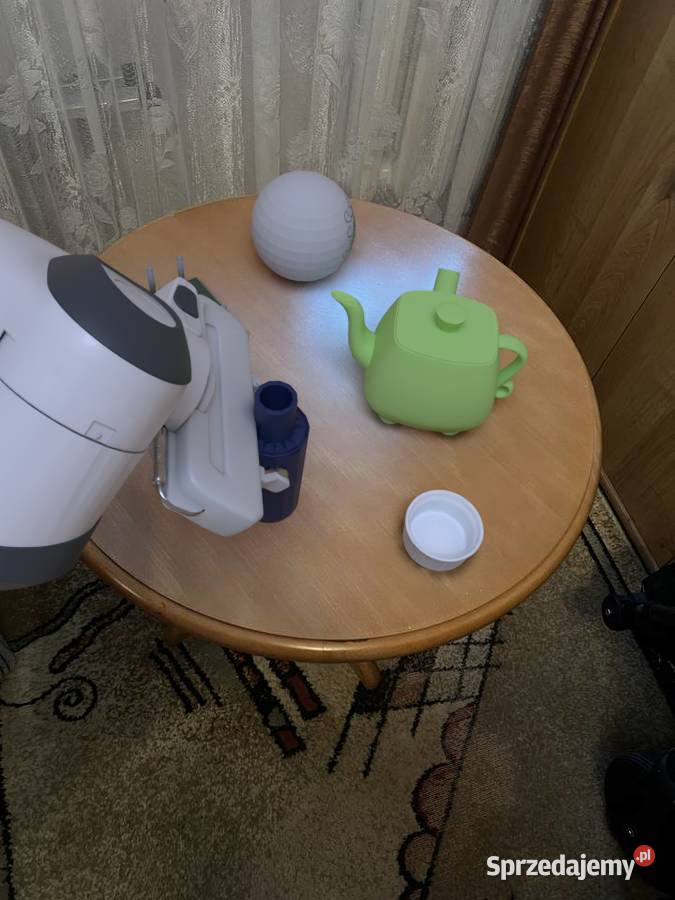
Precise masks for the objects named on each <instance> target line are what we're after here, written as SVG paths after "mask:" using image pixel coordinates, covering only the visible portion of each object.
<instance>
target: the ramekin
mask: <svg viewBox="0 0 675 900" xmlns="http://www.w3.org/2000/svg"><path fill="white" fill-rule="evenodd" d="M404 517H405V518H404V524H403V528H402V542H403V546H404V548H405V550H406V552H407V554H408V556H409V557H410V558H411V560H413V561H414V562H415V563H416V564H418V565H419V566H421V567H423V568H425V569H427V570H430V571H434V572H446V571H447V572H449V571H452V570H453V569H456V568H458V567H460V566H461V565H462V564H463V563H465V561H466V560H467V559H468V558H470V557H472V556H473V555H474V554H475V553H476V552H478V550H479V549H480V547H481V545H482V543H483V540H484V535H485V529H484V523H483V520H482V517H481V515H480V514H479V511H478V510H477V509H476V507H475V506H474V505H473V504H472V503H471V502H470V501H469V500H468V499H467V498H465V497H464V496H462V495H460V494H458V493H456V492H454V491H451V490H446V489H431V490H428V491H427V490H426V491H424V492H423V493H420V494H419V495H417V496H416V497H414V498H413V499H412V501H411V502H410V504H409V505H408V507H407V509H406V511H405V516H404Z"/></svg>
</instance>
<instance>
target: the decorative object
mask: <svg viewBox="0 0 675 900" xmlns="http://www.w3.org/2000/svg"><path fill="white" fill-rule="evenodd" d="M355 216H356V215H355V211H354V208H353V205H352V202H351V201H350V199H349V197H348V195H347V194H346V192H345V191H344V190H343V189H342V188H341V186H340V185H339V184H338V183H337V182H336V181H334V180H333V179H331V178H329V177H328V176H326V175H324V174H322V173H319V172H316V171H312V170H305V169H304V170H299V169H298V170H292V171H289V172H286V173H283V174H281V175H279V176H276V177H275V178H274V179H272V180H271V181H270V182H269V183H268V184H266V185H265V186H264V188H263V189H262V190H261V191H260V193H259V195H257V198H256V200H255V202H254V204H253V208H252V210H251V218H250V234H251V235H250V236H251V238H252V243H253V246H254V248H255V251H256V252H257V255H258V256H259V258H260V259H261V260H262V262H263V263H264V264H265V265H266V266H267V268H269V269H270V270H271V271H273V272H274V273H275V274H277V275H279V276H280V277H282V278H285V279H288V280H291V281H296V282H313V281H314V282H315V281H317V280H320V279H323V278H325V277H327V276H329V275H331V274H332V273H334V272H335V271H336V270H338V269H339V267H341V266H342V265H343V263H344V262H345V261H346V259H347V258H348V256H349V255H350V252H351V251H352V249H353V245H354V242H355V238H356V217H355Z"/></svg>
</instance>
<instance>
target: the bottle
mask: <svg viewBox="0 0 675 900" xmlns="http://www.w3.org/2000/svg"><path fill="white" fill-rule="evenodd" d="M298 404H299V397H298V392H297V391H296V389H294V387H293V385H291V384H290V383H287V382H285V381H283V380H268V381H266V382H264V383H262V385H260V386H259V387H258V389H257V390H256V392H255V394H254V419H255V422H256V431H257V443H258V454H259V465H260V466H262V467H264V469H265V470H266V469H267V470H269V469H270V467H272V466H274V465H276V464H277V465H279V466H281V467H282V468H283V469H287V470H288V477H289V483H290V486H289V487H288V488H286V489H284V490H282V491H280V492H272V491H270V490H267V489H265V488H261V489H262V501H263V517H262V518H261V519H260V520H259V521H258V522H259V523H263V524H273V523H275V524H276V523H279V522H282V521H284V520H286V519H287V518H289V517H290V516H291V515H293V513H294V512H295V511H296V509H297V506H298V504H299V499H300V494H301V488H302V481H303V476H304V475H303V474H304V469H305V462H306V454H307V449H308V443H309V436H310V430H311V426H310V423H309V419H308V417H307V415H306V413H305V412H304V411H303V410H302V409H301V408H300V406H298Z"/></svg>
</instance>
